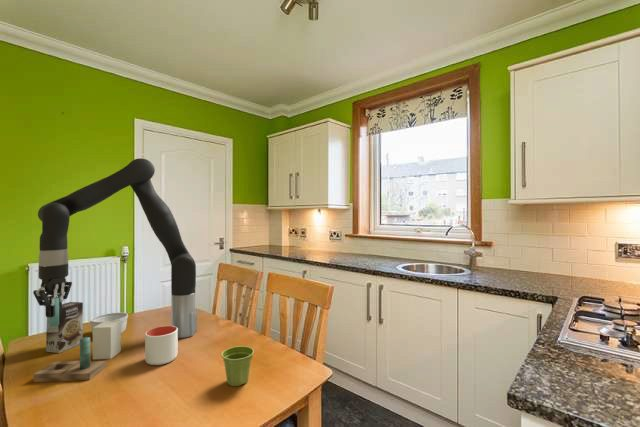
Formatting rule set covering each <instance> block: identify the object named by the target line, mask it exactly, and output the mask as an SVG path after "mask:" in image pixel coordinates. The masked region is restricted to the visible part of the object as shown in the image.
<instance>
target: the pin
mask: <svg viewBox="0 0 640 427" xmlns="http://www.w3.org/2000/svg"><path fill="white" fill-rule="evenodd" d="M50 300H51V299H49V301H50ZM54 305H55V316H54V317H49V327H53V326H58V325H59V297H58V296H57V297H56V298H55V304H54Z"/></svg>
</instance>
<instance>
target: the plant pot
mask: <svg viewBox="0 0 640 427" xmlns="http://www.w3.org/2000/svg"><path fill="white" fill-rule="evenodd" d="M254 354H255V350H254V348H253V347H250V346H246V345H237V346H231V347H228V348H226V349H225V350H223V351H222V352H221V358H222V359H223V362H224V369H225V376H226V382H227V384H228V385H229V386H232V387H240V386H241V385H245V384H246V383H247V382H248V381H249V376H250V375H249V374H250V368H251V363H252V358H253V355H254Z"/></svg>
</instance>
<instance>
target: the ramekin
mask: <svg viewBox="0 0 640 427" xmlns="http://www.w3.org/2000/svg"><path fill="white" fill-rule="evenodd" d="M128 318H129V315H128V313H126V312H110V313H103V314H99V315H96V316H94V317H92V318H90V320H89V321H90V327H91V333H92V335H93V327H95V326H97V325H99V324H100V323H102V322H111V321H121V334H122V333H124V332H125V330H126V328H127V325H128V324H127V323H128Z"/></svg>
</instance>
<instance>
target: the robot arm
mask: <svg viewBox="0 0 640 427" xmlns="http://www.w3.org/2000/svg"><path fill="white" fill-rule="evenodd" d="M155 170H156V169H155V166H154V164H153V163H152V162H151V161H150V160H148V159H146V158H135V159H133V160H131V161H130V162H129V163H128V164H127V165H126V166H124V167H122V168H121V169H119V170H118V171H116V172H114V173H112V174H110V175H108V176H107V177H104V178H102V179H100V180H97V181H94V182H93V183H90V184H88V185H86V186H84V187H81V188H79V189H77V190H75V191H73V192H71V193H70V194H67V195H66V196H63V197H60V198H58V199H55V200H53V201H50V202H47V203H46V204H43V205H42V206H41V207H40V208H39V209H38V211H37V216H38V219H39V220H40V221H41V223H42V225H41V228H42V229H41V230H42V232H41V234H40V235H39V252H38V279H39V280H41V284H40V288H38V289H35V290H33V296H34V297H35V299H36V301H37V303H38V305H39V306H42V307H44V308H45V317H46V318H47V317H54V316H55V305H54V304H55V298H56V297H59V314H61V313H62V304H63V302H64V301H65V300H67V299H68V297H69V294H70V291H71V287H72V286H73V282H72V281H68V280H67V278H66V277H68V276H69V252H68V233H69V232H68V231H69V227H70V217H72V216H73V215H75V214H77V213H78V212H83V211H85V210H88V209H90V208H91V207H94V206H96V205H98V204H99V203H100V204H101V202H103V201H105V200H106V199H108V198H110V197H112V196H113V195H115V194H117V193H118V192H120V191H122V190H123V189H125V188H127V187H129V186H130V187H131V189H132V190H133V192H134V193H135V196H136V197H137V199H138V202H139V204H140V207H141V209H142V211H143V212H144V214H145V217H146V220H147V222H148V223H149V225H150V228H151V229H152V231H153V233H154V235H155V236H156V238H157V239H158V240H159V242H160V243H161V245H162V246H163V248H164V249H165V252H166V254H167V256H168V259H169V261H170V266H171V268H170V269H171V270H170V271H171V272H170V274H171V275H170V276H171V277H170V279H171V280H170V282H171V284H170V285H171V286H170V288H171V290H170V291H171V295H170V296H171V299H170V300H171V301H170V302H171V303H170V304H171V310H170V311H171V314H170V315H171V320H170V321H171V322H170V323H171V324H170V326H175V327H177V328H178V339H185V338H189V337H193V336H194V335H195V334H196V333H197V332H198V309H197V308H196V286H197V285H196V284H197V283H196V278H197V265H196V262H195V259H194V258H193V257H192V255H191V254H190V252H189V250H188V248H187V247H186V245H185V244H184V241H183V240H182V236H181V233H180V229H179V227H178V224H177V221H176V219H175V217H174V214H173V212H172V210H171V208H170V207H169V206H168V205H167V204H166V203H165V201H164V200H163V199H162V198H161V197H160V195H159V194H158V193H157V192H156V190H155V188H154V185H153V183H152V180H151V179H153V176H155ZM49 299H51V300H50V301H49Z"/></svg>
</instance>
